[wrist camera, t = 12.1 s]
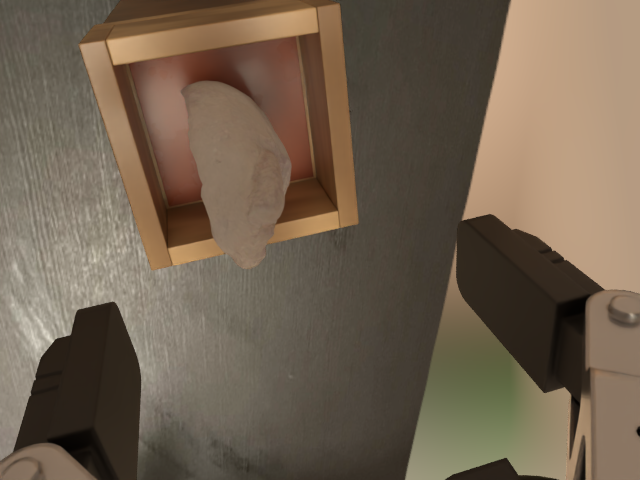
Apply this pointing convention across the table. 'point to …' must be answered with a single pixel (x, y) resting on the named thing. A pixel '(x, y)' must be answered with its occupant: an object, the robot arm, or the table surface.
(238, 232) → the fossil
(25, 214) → the table surface
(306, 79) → the open wooden box
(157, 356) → the table surface
